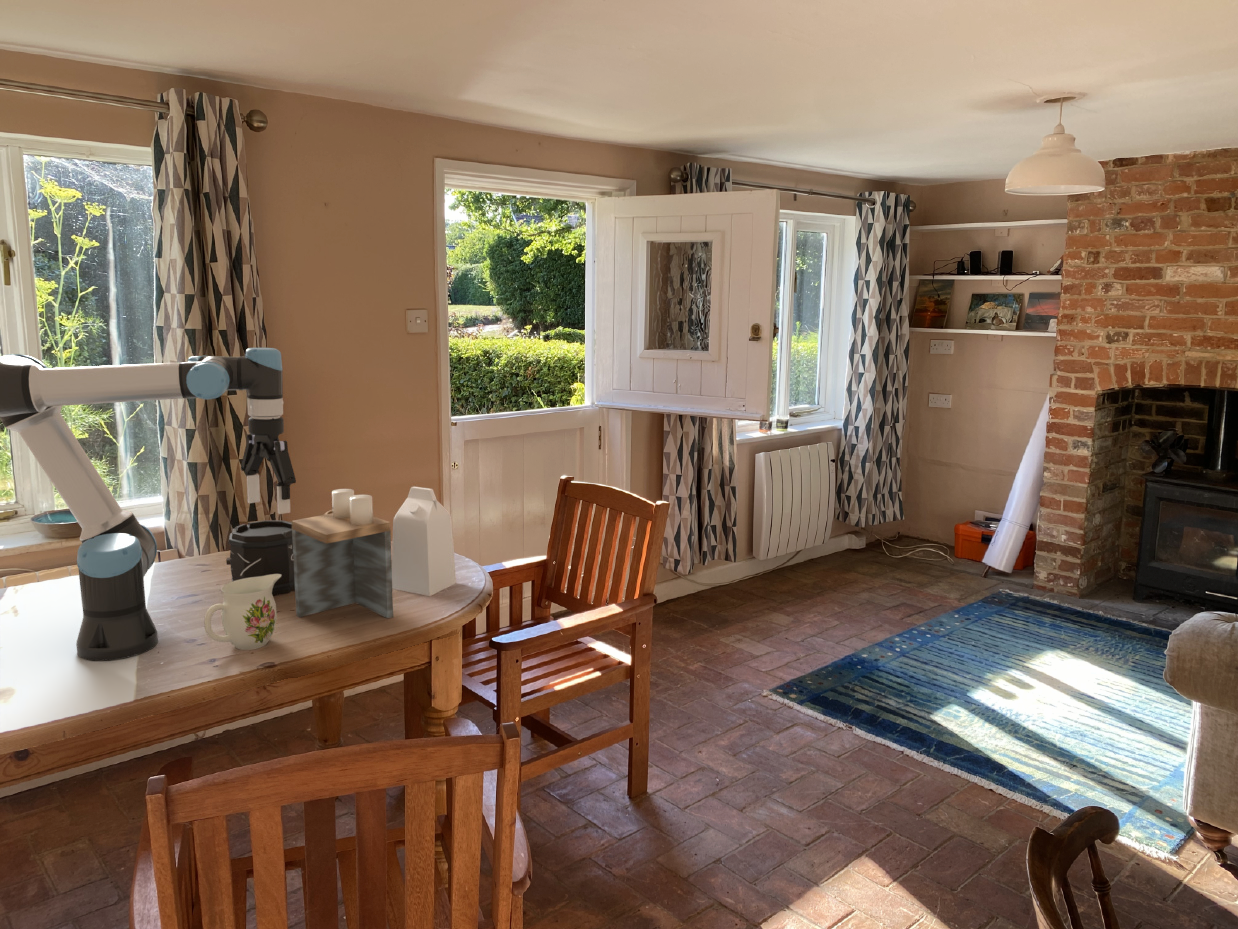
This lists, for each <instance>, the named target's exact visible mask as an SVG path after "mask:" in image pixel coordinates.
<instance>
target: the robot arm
mask: <svg viewBox="0 0 1238 929" xmlns="http://www.w3.org/2000/svg"><path fill="white" fill-rule="evenodd" d="M282 358H283V357H282V353H281V351H280V350H279V349H277V348H275V347H249V348H247V349H246V350H245V354H244V355H243V356H221V355H220V356H218V355H217V356H216V355H195V356H194V355H192V356H190V357H188V359H187V361H186V362H185V361H184V362H163V363H160V362H159V363H138V364H121V365H120V364H119V365H118V364H117V365H99V366H98V365H97V366H96V365H95V366H94V365H93V366H72V367H53V368H52V367H50V368H49V367H48V366H46V365H45V364H44V362H42V361H41V360H39V359H37V358H36V357H33V356H31V355H30V356H29V355H25V354H19V353H10V354H5V355H1V356H0V422H1V423H2V424H3V426H4V427H5V429H7V430H11V431H14V432H17V433H18V434H19V435H20V437H21V438H22V440H23V441H24V442H25V444H26V446H27V448H28V449H29V450H30V451H31V453H32V455H33V457H34V458H35V460H36V461H37V463H38V464H39V465H40V467H41V469H42V471H43V472H44V473H45V474H46V476H47V478H48V479H49V481H50V482H51V483H52V485H53V487H54V489H55V490H56V492H58V495H59V496H60V497H61V499H62V500H63V502H64V504H65V505H66V506H67V508H68V510H69V511H70V513H71V514H72V516H73V517H74V519H75V520H76V522H77V524H78V525H79V526H80V527H81V532H80V536H79V540H80V542H81V544H80V545H79V547H78V549H77V556H76V564H77V565H76V566H77V568H78V577H79V578H78V579H79V587H80V597H81V606H82V620H81V625H80V628H79V631H78V636H77V639H76V654H77V656H78V657H80V658H82V659H84V660H88V661H89V660H90V661H112V660H113V661H114V660H120V659H126V658H129V657H133V656H137V655H140V654H142V653H145V652H147V651H149V650H151V649H153V648H154V647H156V645H157V644H158V642H159V638H158V635H159V634H158V630H157V628H156V626H155V624H154V622H153V619H152V616H151V615H150V614H149V611H148V609H147V605H146V604H147V603H146V594H145V593H146V591H145V581H144V577H145V576H146V574H147V573H148V571H149V570H150V569H151V567H152V566H153V564H154V563H155V561H156V560H155V559H156V557H157V554H158V552H157V551H158V544H157V540H156V537H155V535H154V534H153V532H152V531H151V530H150V529H149V528H148V527H147V526H145V525H143V524H141V523H140V522H139V520H138V519H137V517H136V516H135V515H134V512H133V511H129V510H125V509H123V508H121V506H120V504H118V502H117V500H116V498H115V497H114V495H113V494H112V492H111V491H110V488H108V486H107V484H106V483H105V481H104V480H103V478H102V476H101V475H100V473H99V472H98V470H97V469H96V468H95V466H94V464H93V463H92V461H91V459H90V457H89V456H88V455H87V453H86V452H85V450H84V448H83V447H82V445H81V444H80V442H79V440H78V439H77V437H76V436H75V435H74V433H73V431H72V429H71V428H70V426H69V425H68V424H67V422H66V420H65V418H64V417H63V415H62V414H61V413H62V412H61V410H62V408H63V406H64V407H65V406H79V405H94V404H95V405H97V404H112V403H128V402H129V403H131V402H143V401H145V402H146V401H149V402H150V401H161V400H178V399H179V400H181V399H183V400H184V399H202V400H214V399H217V398H220V397H221V396H222V395H223V394H225V393H226V392H227V391H246V393H247V394H246V395H247V397H246V401H247V415H248V416H249V418H248V419H247V421H248V422H247V423H248V424H247V425H248V428H247V429H248V433H247V434H246V442H245V443H246V444H245V448H244V452H243V456H242V461H241V466H240V471H241V472H244V474H245V476H246V491H247V493H246V495H247V503H248V504H254V503H260V502H261V492H260V490H261V489H260V488H261V487H260V467H261V465H262V463H263V461H264V459H266V461H268V462H269V464H270V466H271V467H272V468H271V469H272V470H273V473H274V476H275V478H276V481H277V484H276V485H275V486H276V501H277V503H276V504H277V514H278V515H283V514H288V513H289V514H290V513H291V485H293V484H296V483H297V480H296V475H295V472H294V468H293V464H292V461H291V458H290V454H289V449H288V441H287V440H280V439H279V436H280V435H281V434H283V433H285V432H284V431H285V426H284V425H285V422H284V420H285V419H284V418H283V416H282V415H284V403H285V402H284V400H283V399H284V398H283V397H284V395H283V394H284V388H283V387H284V386H283V385H284V384H283V381H284V380H283V378H284V376H283V363H282V362H283V361H282Z"/></svg>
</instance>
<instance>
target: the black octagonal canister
mask: <svg viewBox="0 0 1238 929" xmlns="http://www.w3.org/2000/svg"><path fill="white" fill-rule="evenodd" d="M227 543H228V545H230V553H229V557H226V558H225V559H226V560H225V561H226V565H228V566H229V565H230V573H231V582H232V581H236V580H240V579H244V578H250V577H259V576H265V575H271V574H281V577H280V578H279V579H278V580H277V581H276V582H275V584H274V586H273V589H272V595H273V597H276V596H281V595H282V596H283V595H286V594H290V593H291V592H295V579H294V559H293V540H292V521H287V520H279V519H278V520H269V519H268V520H266V519H265V520H259V521H252V522H251V521H249V522H248V523H247V524H246V523H243V524H240V525H238V526H237V525H236V526H235V527H234V528H232V532H231V533H229V536H228V541H227Z"/></svg>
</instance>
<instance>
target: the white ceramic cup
mask: <svg viewBox="0 0 1238 929" xmlns="http://www.w3.org/2000/svg"><path fill="white" fill-rule="evenodd" d="M349 501H350V524H352V525H369V524H372V523H373V516H374V512H373V495H370V494H354V496H351V497H349Z"/></svg>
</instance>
